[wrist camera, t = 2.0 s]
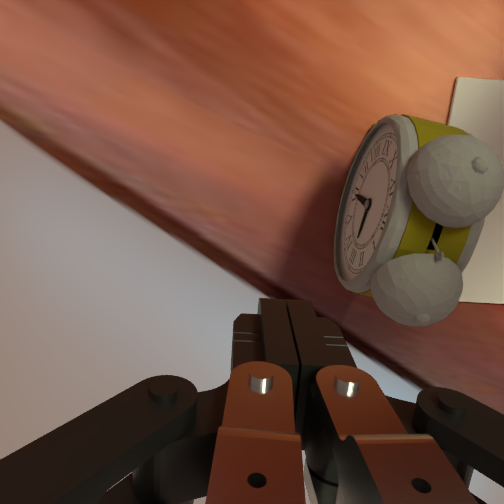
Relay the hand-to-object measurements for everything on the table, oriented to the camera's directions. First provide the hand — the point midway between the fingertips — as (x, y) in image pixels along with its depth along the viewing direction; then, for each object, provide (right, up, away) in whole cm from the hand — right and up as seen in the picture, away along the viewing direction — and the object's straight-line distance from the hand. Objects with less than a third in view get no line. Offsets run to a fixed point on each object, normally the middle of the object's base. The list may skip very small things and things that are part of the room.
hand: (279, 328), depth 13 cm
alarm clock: (+9, +7, +23) cm, 26 cm away
